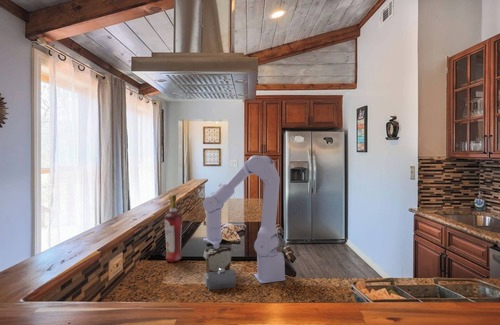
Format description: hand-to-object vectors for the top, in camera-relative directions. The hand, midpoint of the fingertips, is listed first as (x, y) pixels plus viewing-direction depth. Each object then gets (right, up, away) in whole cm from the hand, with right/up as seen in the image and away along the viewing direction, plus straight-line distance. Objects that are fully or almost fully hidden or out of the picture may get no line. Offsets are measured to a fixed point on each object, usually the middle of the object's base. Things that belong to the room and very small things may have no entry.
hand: (214, 261), depth 113 cm
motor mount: (+4, -3, -14) cm, 15 cm away
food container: (+1, -3, -5) cm, 6 cm away
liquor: (-19, -3, +11) cm, 22 cm away
